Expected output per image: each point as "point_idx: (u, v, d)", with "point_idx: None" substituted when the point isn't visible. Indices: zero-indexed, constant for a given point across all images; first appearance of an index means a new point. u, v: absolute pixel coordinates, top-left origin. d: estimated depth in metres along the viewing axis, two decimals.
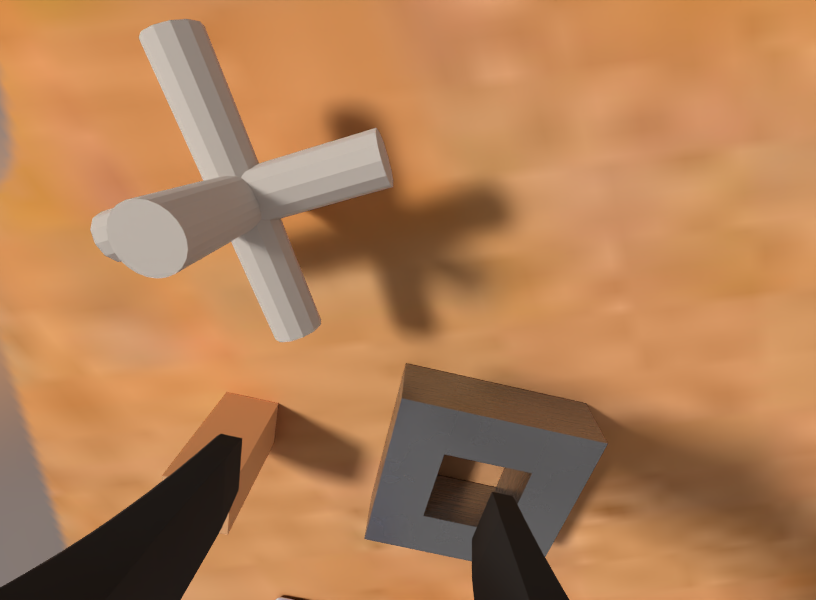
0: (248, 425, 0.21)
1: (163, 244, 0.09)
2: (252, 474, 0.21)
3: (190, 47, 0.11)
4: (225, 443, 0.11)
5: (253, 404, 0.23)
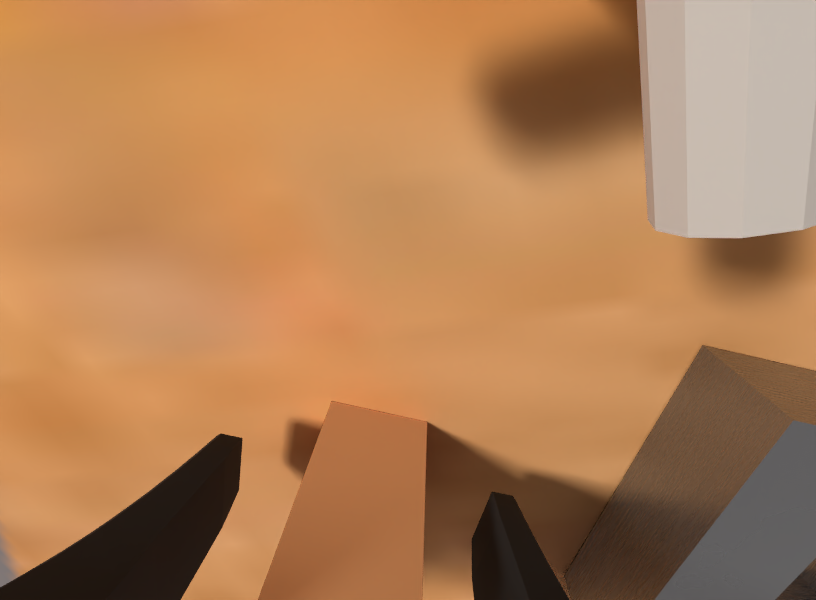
0: (394, 471, 0.10)
1: None
2: None
3: None
4: (225, 442, 0.11)
5: (386, 425, 0.12)
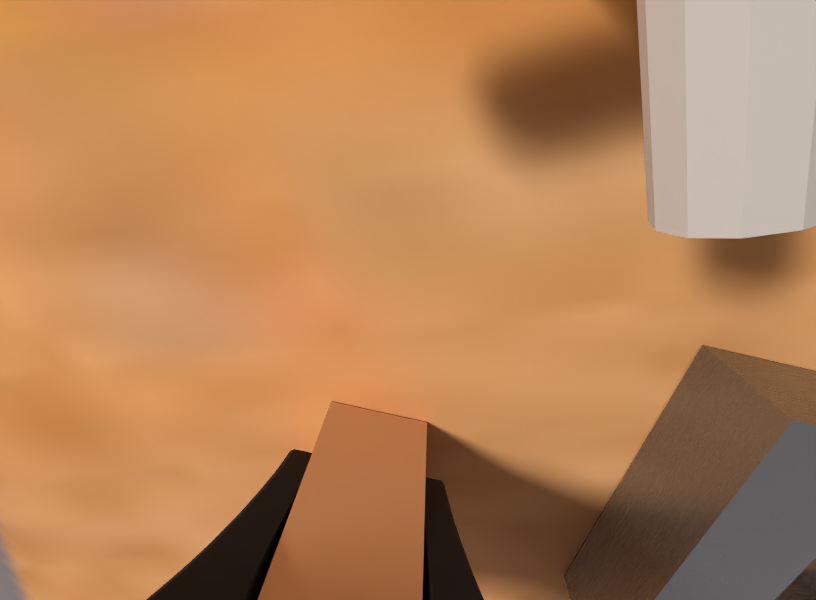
0: (394, 472, 0.10)
1: None
2: None
3: None
4: (301, 459, 0.11)
5: (385, 425, 0.12)
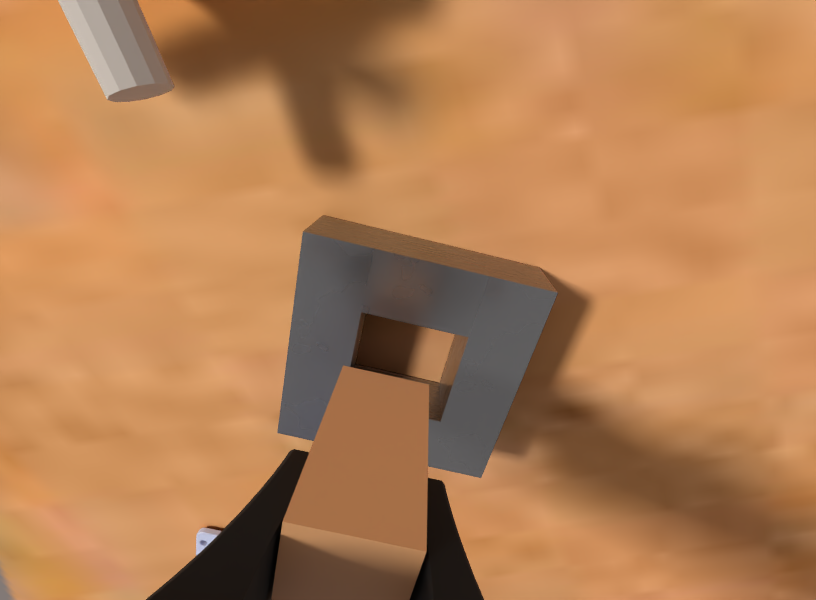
0: (401, 420, 0.12)
1: None
2: None
3: None
4: (301, 459, 0.11)
5: (392, 385, 0.13)
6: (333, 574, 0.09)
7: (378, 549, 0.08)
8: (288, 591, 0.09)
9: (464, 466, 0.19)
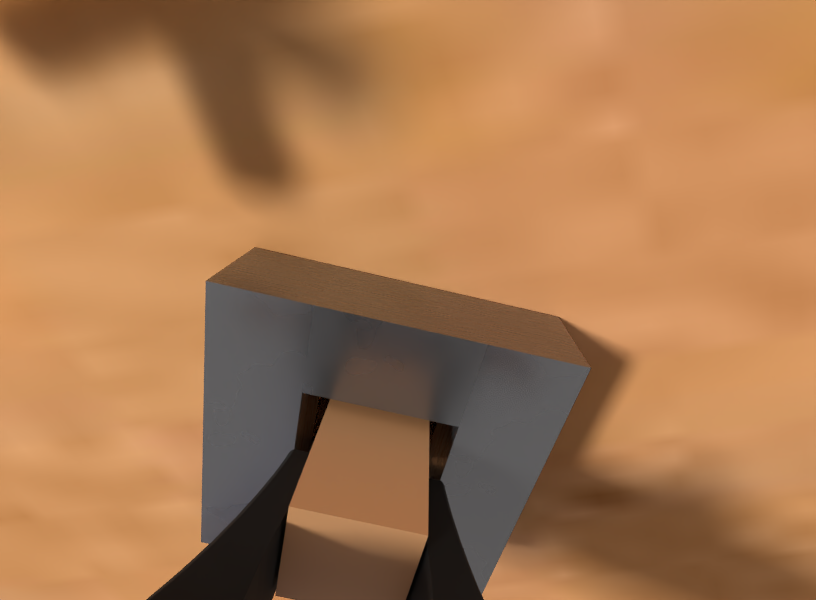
0: None
1: None
2: None
3: None
4: (301, 459, 0.11)
5: None
6: (337, 558, 0.09)
7: (381, 533, 0.09)
8: (293, 577, 0.09)
9: None
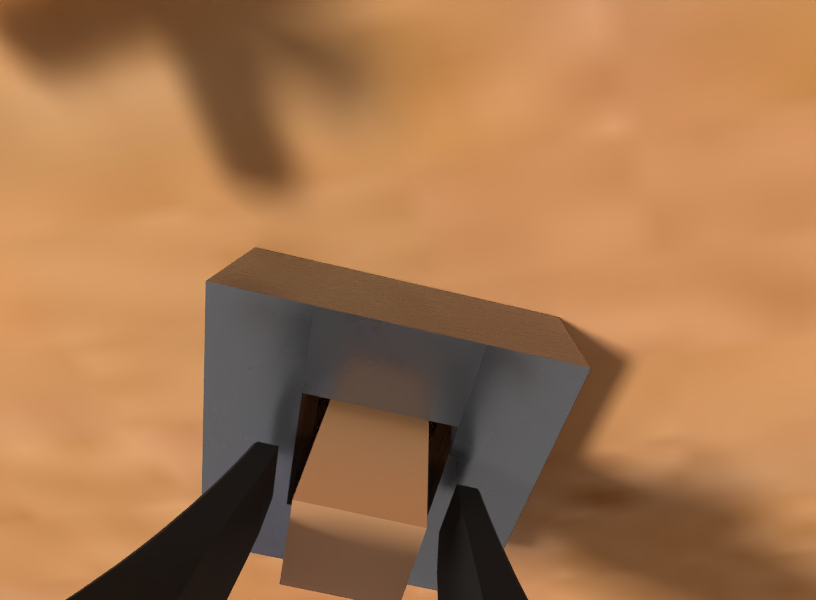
0: None
1: None
2: None
3: None
4: (263, 450, 0.11)
5: None
6: (339, 549, 0.09)
7: (382, 525, 0.09)
8: (297, 566, 0.10)
9: None
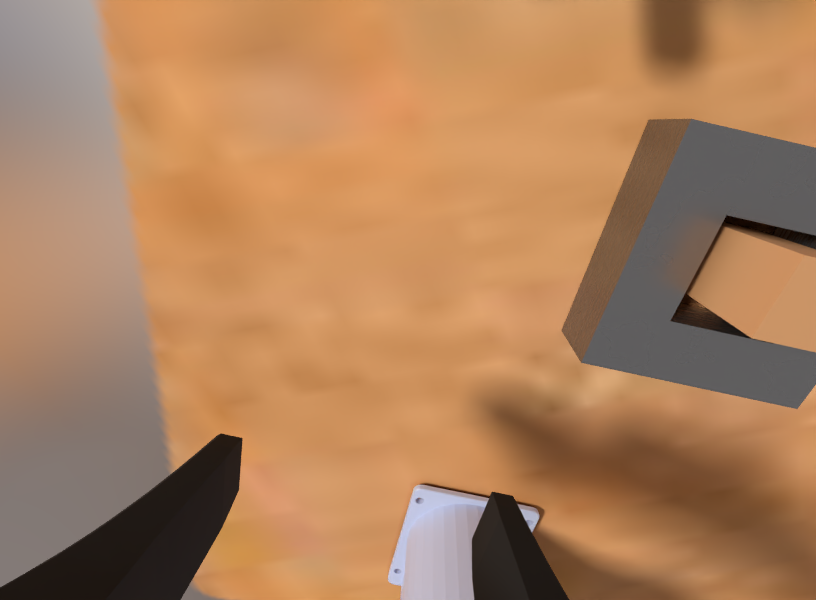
0: (776, 238, 0.16)
1: None
2: None
3: None
4: (225, 443, 0.11)
5: (737, 226, 0.18)
6: None
7: None
8: (774, 319, 0.13)
9: (782, 395, 0.18)
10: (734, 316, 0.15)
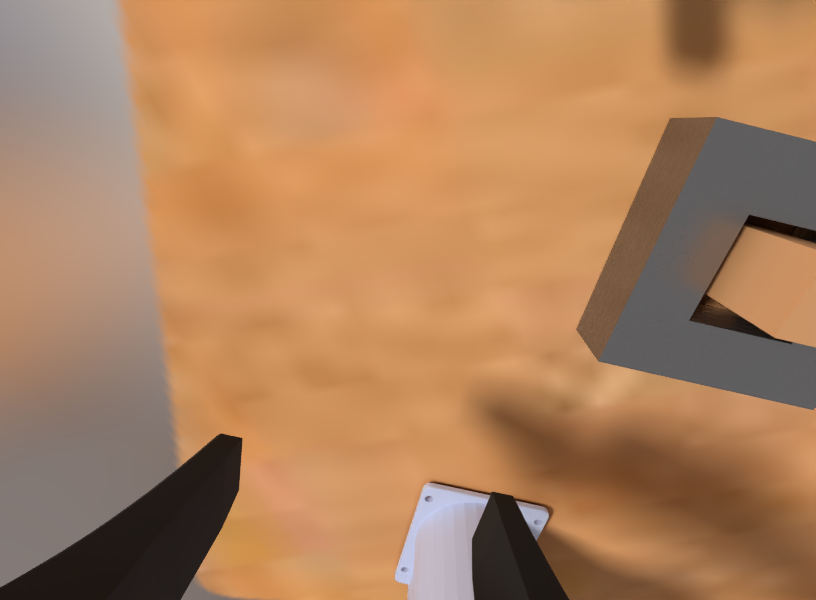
0: (796, 238, 0.16)
1: None
2: None
3: None
4: (225, 443, 0.11)
5: (756, 226, 0.18)
6: None
7: None
8: (798, 319, 0.13)
9: (799, 396, 0.18)
10: (756, 316, 0.15)
